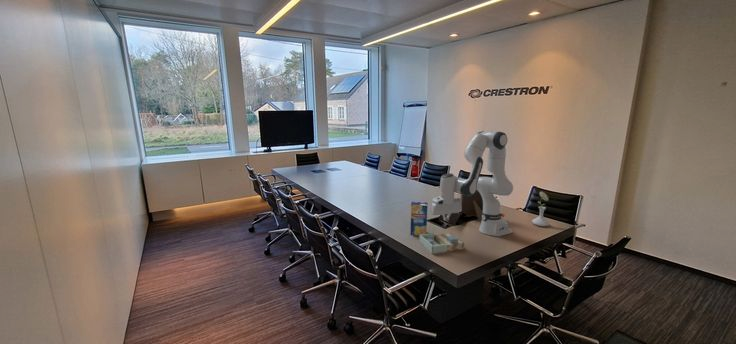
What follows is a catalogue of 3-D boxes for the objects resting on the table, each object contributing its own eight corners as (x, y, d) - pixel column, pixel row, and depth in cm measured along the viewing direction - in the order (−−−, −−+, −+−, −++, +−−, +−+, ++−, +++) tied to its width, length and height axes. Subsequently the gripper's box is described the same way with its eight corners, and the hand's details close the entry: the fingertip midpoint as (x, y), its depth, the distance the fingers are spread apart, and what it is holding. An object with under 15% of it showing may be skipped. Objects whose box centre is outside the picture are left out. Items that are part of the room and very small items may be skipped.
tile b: (453, 239, 194) (453, 235, 193) (457, 242, 189) (458, 238, 188) (446, 240, 192) (446, 236, 192) (450, 243, 188) (450, 239, 187)
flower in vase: (551, 228, 221) (555, 195, 216) (534, 227, 223) (538, 194, 218) (544, 221, 233) (548, 190, 228) (528, 220, 236) (532, 189, 231)
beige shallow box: (450, 238, 204) (450, 233, 203) (463, 248, 189) (464, 242, 188) (434, 240, 201) (434, 235, 200) (446, 251, 186) (446, 245, 185)
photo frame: (458, 214, 251) (460, 185, 246) (485, 215, 249) (488, 185, 243) (462, 221, 237) (464, 190, 231) (490, 221, 234) (493, 190, 229)
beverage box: (426, 236, 209) (427, 205, 204) (410, 234, 211) (411, 204, 207) (426, 232, 215) (427, 202, 211) (411, 230, 218) (411, 201, 213)
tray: (433, 240, 202) (433, 233, 201) (446, 252, 185) (447, 244, 184) (419, 241, 199) (419, 234, 198) (431, 254, 182) (432, 246, 181)
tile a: (423, 238, 197) (423, 242, 197) (426, 241, 192) (426, 245, 193) (430, 237, 198) (430, 241, 199) (433, 241, 193) (433, 244, 194)
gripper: (458, 196, 196) (458, 216, 199) (429, 199, 191) (429, 220, 194) (464, 199, 190) (463, 219, 193) (434, 202, 185) (433, 223, 188)
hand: (446, 220), depth 193 cm, fingers closed
